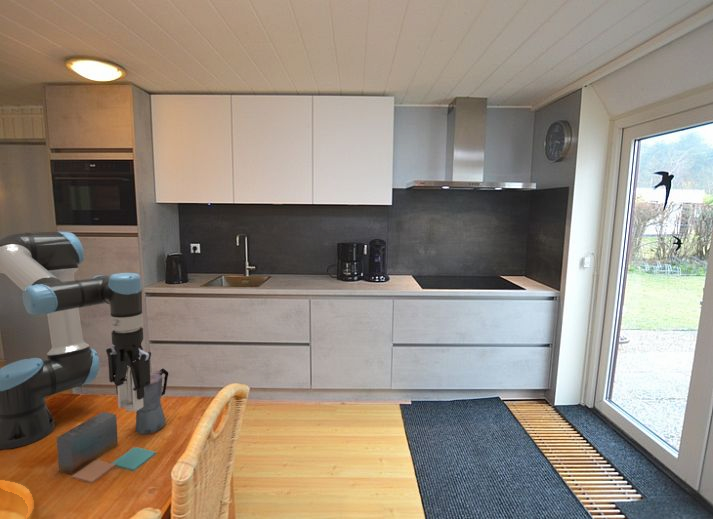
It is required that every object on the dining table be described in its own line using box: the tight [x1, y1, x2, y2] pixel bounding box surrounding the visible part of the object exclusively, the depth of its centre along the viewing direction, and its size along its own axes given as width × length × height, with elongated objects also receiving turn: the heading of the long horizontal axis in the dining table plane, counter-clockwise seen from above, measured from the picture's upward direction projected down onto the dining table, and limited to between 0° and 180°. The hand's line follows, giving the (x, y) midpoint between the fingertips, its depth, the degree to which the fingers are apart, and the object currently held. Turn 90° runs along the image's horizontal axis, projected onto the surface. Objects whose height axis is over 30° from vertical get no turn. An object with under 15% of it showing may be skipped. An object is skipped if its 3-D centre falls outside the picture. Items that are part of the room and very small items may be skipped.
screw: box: [121, 366, 134, 413], centre depth 105 cm, size 13×5×5 cm
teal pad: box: [111, 446, 157, 472], centre depth 108 cm, size 8×8×1 cm
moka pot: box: [133, 368, 169, 435], centre depth 123 cm, size 10×15×20 cm, turn 166°
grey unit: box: [56, 411, 119, 476], centre depth 108 cm, size 5×14×10 cm, turn 165°
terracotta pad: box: [71, 459, 116, 484], centre depth 102 cm, size 7×7×1 cm
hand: (130, 407), depth 106 cm, fingers closed on screw, 5 cm apart
